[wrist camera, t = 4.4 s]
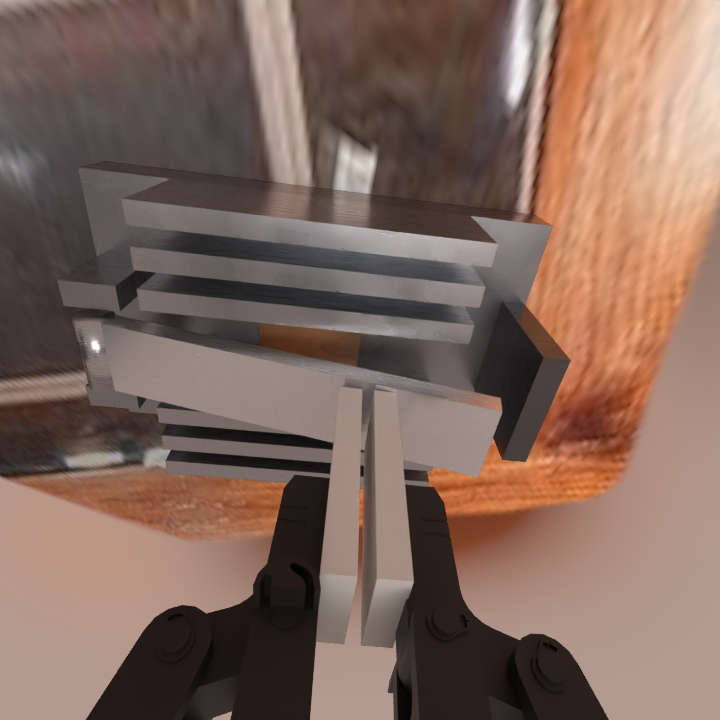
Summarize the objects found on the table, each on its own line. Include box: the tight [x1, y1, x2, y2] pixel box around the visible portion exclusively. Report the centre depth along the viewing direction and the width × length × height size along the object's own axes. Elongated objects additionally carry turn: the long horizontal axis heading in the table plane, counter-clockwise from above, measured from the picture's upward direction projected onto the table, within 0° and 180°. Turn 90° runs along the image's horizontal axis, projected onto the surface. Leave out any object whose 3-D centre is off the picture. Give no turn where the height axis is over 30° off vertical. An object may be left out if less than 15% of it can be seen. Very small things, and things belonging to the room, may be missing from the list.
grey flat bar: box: [72, 309, 502, 477], centre depth 16 cm, size 16×3×1 cm, turn 82°
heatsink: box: [57, 161, 571, 489], centre depth 19 cm, size 19×12×7 cm, turn 83°
